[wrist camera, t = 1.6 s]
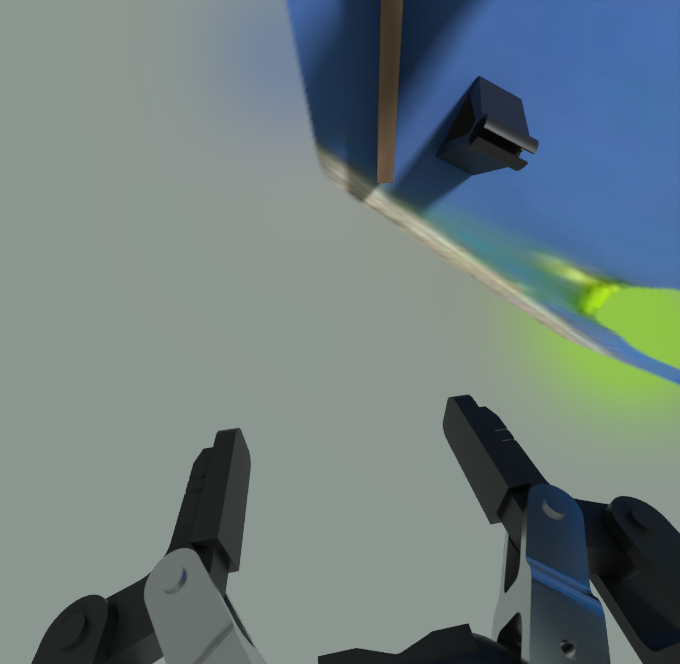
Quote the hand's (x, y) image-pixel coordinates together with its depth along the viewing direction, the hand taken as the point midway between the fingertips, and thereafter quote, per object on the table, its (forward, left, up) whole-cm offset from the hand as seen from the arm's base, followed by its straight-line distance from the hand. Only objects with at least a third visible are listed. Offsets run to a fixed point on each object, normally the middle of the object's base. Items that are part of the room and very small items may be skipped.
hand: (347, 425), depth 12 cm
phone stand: (-14, -4, -41) cm, 44 cm away
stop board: (-2, -12, -41) cm, 43 cm away
